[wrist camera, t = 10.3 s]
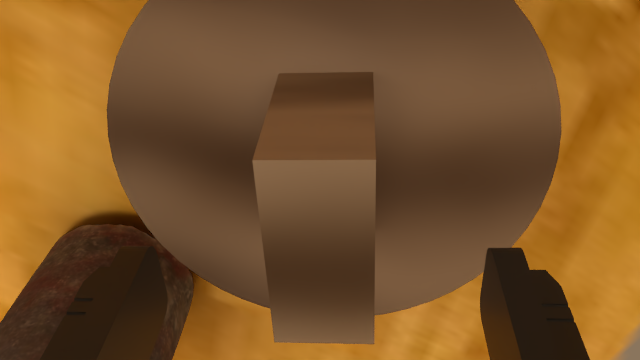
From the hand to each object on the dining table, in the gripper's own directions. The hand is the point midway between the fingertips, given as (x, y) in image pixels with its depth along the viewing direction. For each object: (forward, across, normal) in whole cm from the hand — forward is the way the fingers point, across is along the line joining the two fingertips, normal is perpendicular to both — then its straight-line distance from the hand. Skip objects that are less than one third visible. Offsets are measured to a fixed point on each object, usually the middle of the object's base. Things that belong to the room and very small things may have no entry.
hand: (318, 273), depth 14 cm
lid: (+7, 0, 0) cm, 7 cm away
